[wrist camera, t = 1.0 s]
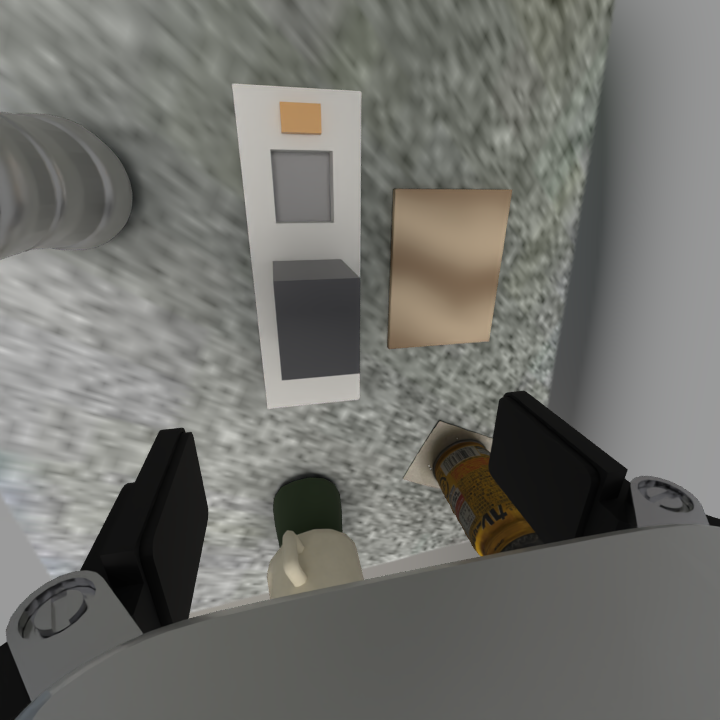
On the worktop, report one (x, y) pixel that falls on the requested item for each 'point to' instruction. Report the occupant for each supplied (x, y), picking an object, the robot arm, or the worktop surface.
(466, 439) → the condiment
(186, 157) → the worktop surface
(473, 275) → the cork pad
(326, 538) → the character mug
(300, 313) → the block
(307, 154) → the power strip
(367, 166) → the worktop surface
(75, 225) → the plastic bottle
